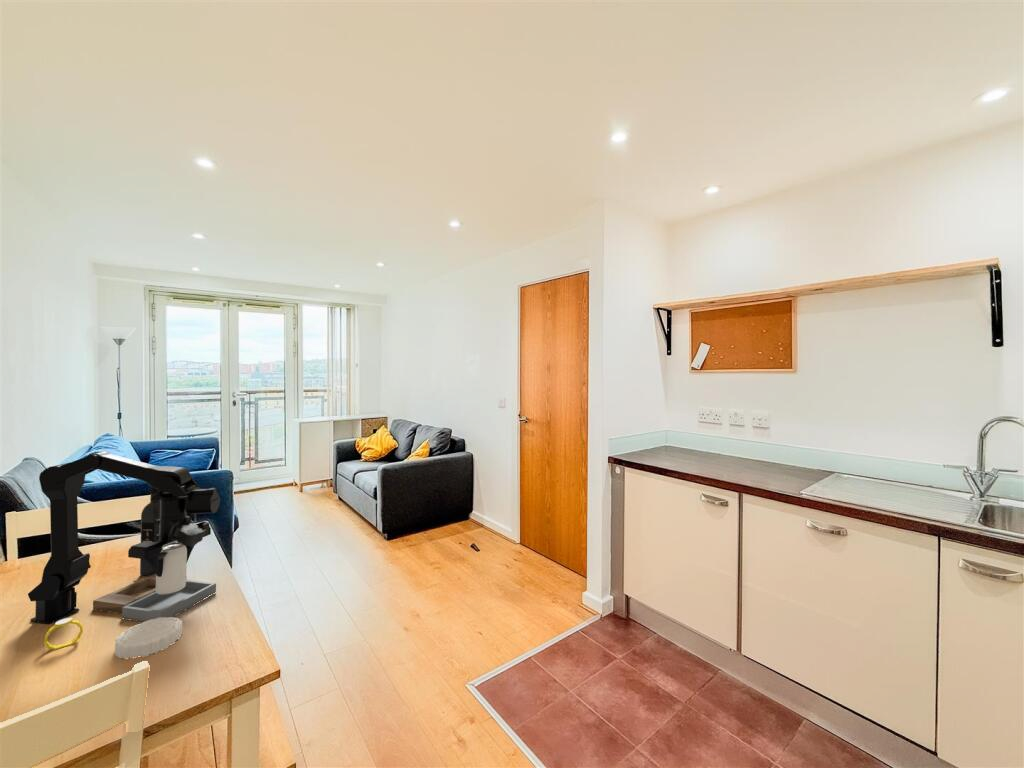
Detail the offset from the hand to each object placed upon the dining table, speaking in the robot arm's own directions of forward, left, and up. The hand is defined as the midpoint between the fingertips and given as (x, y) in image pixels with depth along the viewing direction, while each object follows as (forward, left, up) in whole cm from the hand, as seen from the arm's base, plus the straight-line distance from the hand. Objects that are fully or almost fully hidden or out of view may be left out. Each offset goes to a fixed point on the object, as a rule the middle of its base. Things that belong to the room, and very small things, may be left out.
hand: (171, 571), depth 114 cm
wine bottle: (+16, +25, -10) cm, 31 cm away
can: (0, 0, -5) cm, 5 cm away
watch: (-19, +7, -10) cm, 23 cm away
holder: (+3, +13, -10) cm, 16 cm away
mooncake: (-14, -11, -10) cm, 21 cm away
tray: (0, 0, -10) cm, 10 cm away
